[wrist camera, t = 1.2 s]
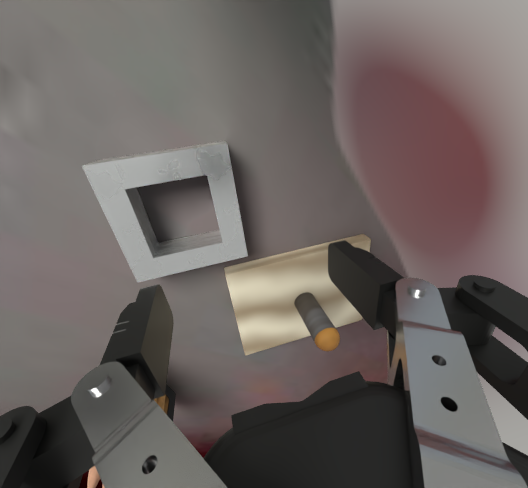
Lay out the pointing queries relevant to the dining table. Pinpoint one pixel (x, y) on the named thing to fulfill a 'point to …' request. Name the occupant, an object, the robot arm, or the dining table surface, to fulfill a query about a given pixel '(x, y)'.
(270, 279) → the keeper board
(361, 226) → the dining table surface
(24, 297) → the dining table surface
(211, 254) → the aluminium link
